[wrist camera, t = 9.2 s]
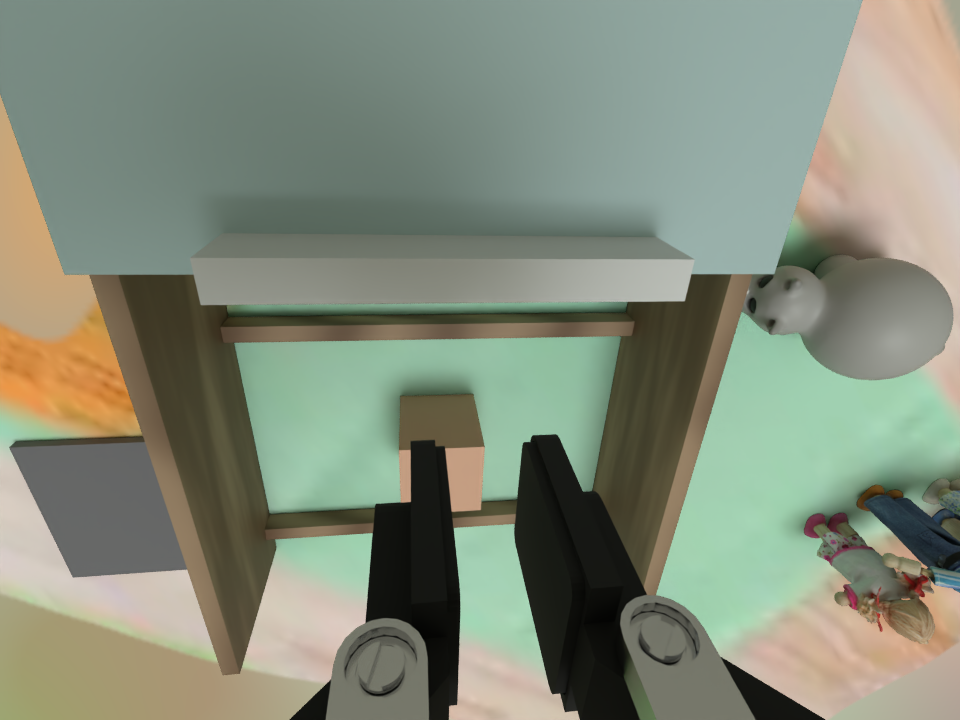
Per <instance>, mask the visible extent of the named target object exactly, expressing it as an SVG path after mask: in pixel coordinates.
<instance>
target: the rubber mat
mask: <svg viewBox="0 0 960 720" xmlns="http://www.w3.org/2000/svg"><path fill="white" fill-rule="evenodd" d="M9 448H10V450H11V452H12V454H13V456H14V458H15V460H16V462H17V464H18V466H19V469H20V471H21V473H22V475H23V477H24V479H25V481H26V483H27V485H28V487H29V489H30V491H31V493H32V495H33V497H34V499H35V501H36V503H37V505H38V507H39V509H40V511H41V513H42V515H43V517H44V519H45V521H46V524H47V526H48V528H49V530H50V532H51V534H52V536H53V538H54V540H55V542H56V544H57V546H58V548H59V550H60V552H61V554H62V556H63V558H64V560H65V562H66V564H67V566H68V568H69V570H70V572H71V574H72V576H73V577H87V576H101V575H115V574H129V573H143V572H158V571H172V570H186V569H187V567H186V564H185V561H184V558H183V555H182V552H181V549H180V546H179V543H178V540H177V537H176V534H175V531H174V528H173V525H172V522H171V519H170V516H169V513H168V510H167V507H166V504H165V501H164V498H163V495H162V492H161V489H160V486H159V483H158V480H157V477H156V474H155V471H154V468H153V465H152V462H151V459H150V456H149V453H148V450H147V447H146V444H145V441H144V438H143V437H127V438H101V439H75V440H50V441H24V442H15V443H14V444H13V445H12V446H10V447H9Z"/></svg>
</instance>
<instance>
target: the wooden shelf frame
mask: <svg viewBox="0 0 960 720" xmlns="http://www.w3.org/2000/svg"><path fill="white" fill-rule="evenodd" d="M752 275H753V274H691V278H690V282H689V286H688V290H687V294H686V298H685V301H657V302H628V304H627V310H626V313H542V314H450V315H359V316H267V317H228V312H227V308H226V305H201V304H200V300H199V296H198V291H197V287H196V283H195V278H194V275H90V278H91V281H92V284H93V287H94V290H95V293H96V296H97V299H98V302H99V305H100V308H101V311H102V315H103V318H104V321H105V324H106V327H107V330H108V333H109V336H110V339H111V342H112V345H113V348H114V351H115V354H116V357H117V360H118V363H119V366H120V369H121V372H122V375H123V378H124V381H125V384H126V387H127V390H128V393H129V396H130V399H131V402H132V405H133V408H134V411H135V414H136V417H137V420H138V423H139V426H140V429H141V432H142V435H143V438H144V441H145V444H146V447H147V450H148V453H149V456H150V459H151V462H152V465H153V468H154V471H155V474H156V477H157V480H158V483H159V486H160V489H161V492H162V495H163V498H164V501H165V504H166V507H167V510H168V513H169V516H170V519H171V522H172V525H173V528H174V531H175V534H176V537H177V540H178V543H179V546H180V549H181V552H182V555H183V558H184V561H185V564H186V567H187V570H188V573H189V576H190V579H191V582H192V585H193V588H194V591H195V594H196V597H197V600H198V603H199V606H200V609H201V612H202V615H203V618H204V621H205V624H206V627H207V630H208V633H209V636H210V639H211V642H212V645H213V648H214V651H215V654H216V657H217V660H218V663H219V666H220V668H221V672H222V674H223V675H230V674H240V671H241V668H242V665H243V661H244V658H245V654H246V651H247V647H248V644H249V641H250V637H251V634H252V630H253V627H254V623H255V620H256V616H257V613H258V610H259V606H260V603H261V599H262V596H263V592H264V589H265V586H266V582H267V579H268V575H269V572H270V568H271V565H272V562H273V558H274V555H275V551H276V543H275V539H287V538H302V537H318V536H333V535H349V534H364V533H373V525H374V512H375V508H373V509H356V510H339V511H322V512H305V513H288V514H271V515H270V514H269V509H268V505H267V500H266V495H265V490H264V485H263V481H262V476H261V471H260V466H259V461H258V457H257V452H256V447H255V442H254V437H253V433H252V428H251V423H250V418H249V413H248V409H247V404H246V399H245V394H244V389H243V385H242V380H241V375H240V370H239V365H238V360H237V356H236V351H235V346H234V343H241V342H300V341H359V340H417V339H476V338H534V337H593V336H621V341H620V347H619V352H618V357H617V363H616V368H615V373H614V379H613V384H612V389H611V395H610V400H609V405H608V411H607V416H606V421H605V427H604V432H603V437H602V443H601V448H600V453H599V459H598V464H597V469H596V475H595V480H594V485H593V491H596V492H597V493H598V494H599V495H600V497H601V499H602V501H603V503H604V505H605V507H606V509H607V511H608V513H609V515H610V517H611V520H612V522H613V524H614V526H615V528H616V530H617V532H618V534H619V536H620V538H621V541H622V543H623V545H624V547H625V549H626V551H627V553H628V555H629V557H630V560H631V562H632V564H633V566H634V568H635V570H636V572H637V574H638V576H639V578H640V581H641V583H642V585H643V587H644V589H645V591H646V593H647V595H655V596H656V593H657V589H658V586H659V583H660V579H661V576H662V573H663V569H664V566H665V563H666V559H667V556H668V553H669V549H670V546H671V543H672V540H673V536H674V533H675V530H676V526H677V523H678V520H679V516H680V513H681V510H682V506H683V503H684V500H685V497H686V493H687V490H688V487H689V483H690V480H691V477H692V473H693V470H694V467H695V463H696V460H697V457H698V453H699V450H700V447H701V444H702V440H703V437H704V434H705V430H706V427H707V424H708V420H709V417H710V414H711V410H712V407H713V404H714V400H715V397H716V394H717V391H718V387H719V384H720V381H721V377H722V374H723V371H724V367H725V364H726V361H727V357H728V354H729V351H730V348H731V344H732V341H733V338H734V334H735V331H736V328H737V324H738V321H739V318H740V314H741V311H742V308H743V304H744V301H745V298H746V295H747V291H748V288H749V285H750V281H751V278H752ZM516 507H517V500H510V501H493V502H481V510H474V511H456V512H452V519H453V528H457V527H472V526H488V525H503V524H515V518H516Z"/></svg>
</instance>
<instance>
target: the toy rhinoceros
mask: <svg viewBox="0 0 960 720" xmlns="http://www.w3.org/2000/svg"><path fill="white" fill-rule="evenodd" d="M741 312H744V313H745V314H747V315H748V316H749V317H750V318H751V319H752V320H753V321H754V322H755V323H756V324H757V325H758V326H759V327H760V328H761V329H763V330H765V331H767V332H769V334H771V335H775V334H778V335H786V334H791V333H799V334H800V335H801V338H802V341H803V343H804V345H805V347H806V348H807V350H808V351H809V353H810V354H811V355H812V356H813V357H814V358H815V359H816V360H817V361H818V362H819V363H820V364H822V365H823V366H824V367H826V368H828V369H829V370H831V371H833V372H835V373H838V374H840V375H843V376H846V377H850V378H854V379H861V380H883V379H890V378H895V377H899V376H902V375H905V374H908V373H910V372H912V371H914V370H916V369H918V368H920V367H922V366H923V365H925V364H926V363H928V362H929V361H930V360H931V359H932V358H934V357H935V356H937V355H938V354H940V353H941V352H942V351H943V350H944V348H945V343H946V341H947V339H948V337H949V335H950V332H951V329H952V325H953V308H952V303H951V300H950V297H949V295H948V293H947V291H946V290H945V288H944V287H943V285H942V284H941V283H940V282H939V281H938V280H937V279H936V278H935V277H934V276H933V275H932V274H930V273H929V272H928V271H926V270H924V269H923V268H921V267H919V266H917V265H914V264H912V263H909V262H906V261H902V260H897V259H891V258H869V259H862V260H857V259H855V258H853V257H851V256H848V255H834V256H831V257H829V258H827V259H825V260H823V261H822V262H821V263H820V264H819V265H818V266H817V268H816V270H815V273H814V274H813V273H811V272H810V271H808V270H806V269H804V268H801V267H797V266H781V267H777V268H776V270H775V273H774V274H753V275H752V278H751V281H750V285H749V288H748V291H747V295H746V298H745V301H744V304H743V308H742V311H741Z"/></svg>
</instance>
